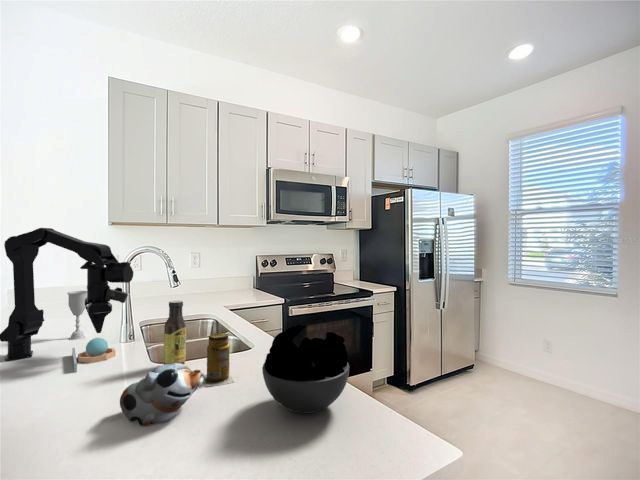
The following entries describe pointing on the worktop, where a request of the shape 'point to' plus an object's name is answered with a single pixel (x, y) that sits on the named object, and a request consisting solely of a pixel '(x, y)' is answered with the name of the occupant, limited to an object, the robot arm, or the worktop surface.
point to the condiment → (218, 360)
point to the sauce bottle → (175, 335)
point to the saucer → (89, 359)
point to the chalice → (77, 310)
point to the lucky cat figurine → (160, 394)
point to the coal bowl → (306, 370)
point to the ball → (96, 347)
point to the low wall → (74, 359)
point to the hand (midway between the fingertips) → (97, 329)
